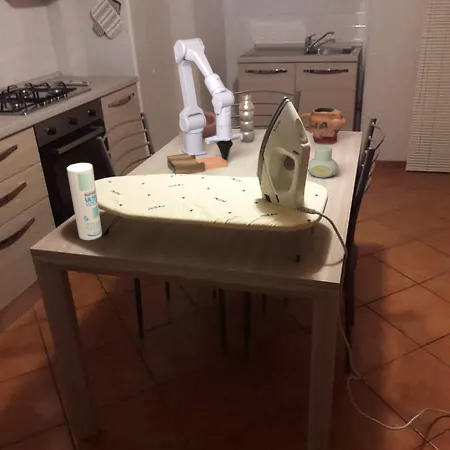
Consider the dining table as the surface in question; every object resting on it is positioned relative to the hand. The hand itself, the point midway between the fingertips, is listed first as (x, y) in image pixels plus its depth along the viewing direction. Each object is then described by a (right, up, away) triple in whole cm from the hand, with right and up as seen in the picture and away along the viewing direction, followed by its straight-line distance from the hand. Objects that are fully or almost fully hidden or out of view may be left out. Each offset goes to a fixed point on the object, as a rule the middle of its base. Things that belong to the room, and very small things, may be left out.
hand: (224, 159), depth 193 cm
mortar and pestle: (-8, +15, +36) cm, 40 cm away
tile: (-5, -3, -1) cm, 6 cm away
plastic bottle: (+10, +11, +27) cm, 30 cm away
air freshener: (+35, -8, -14) cm, 38 cm away
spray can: (-37, -28, -53) cm, 70 cm away
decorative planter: (+41, +11, +23) cm, 49 cm away
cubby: (-14, -4, -4) cm, 15 cm away
